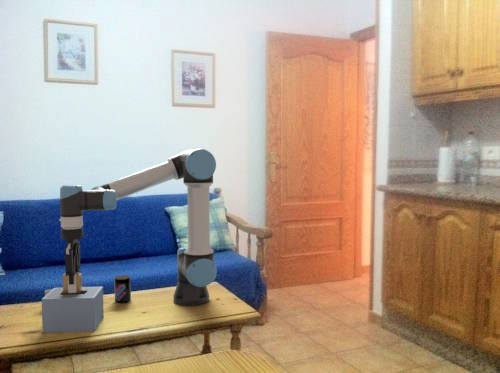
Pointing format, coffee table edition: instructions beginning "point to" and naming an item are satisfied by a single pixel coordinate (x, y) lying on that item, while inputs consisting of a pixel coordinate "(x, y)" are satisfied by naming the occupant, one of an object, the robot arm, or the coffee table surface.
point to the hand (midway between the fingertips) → (73, 291)
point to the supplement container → (122, 289)
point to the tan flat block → (78, 284)
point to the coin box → (72, 310)
